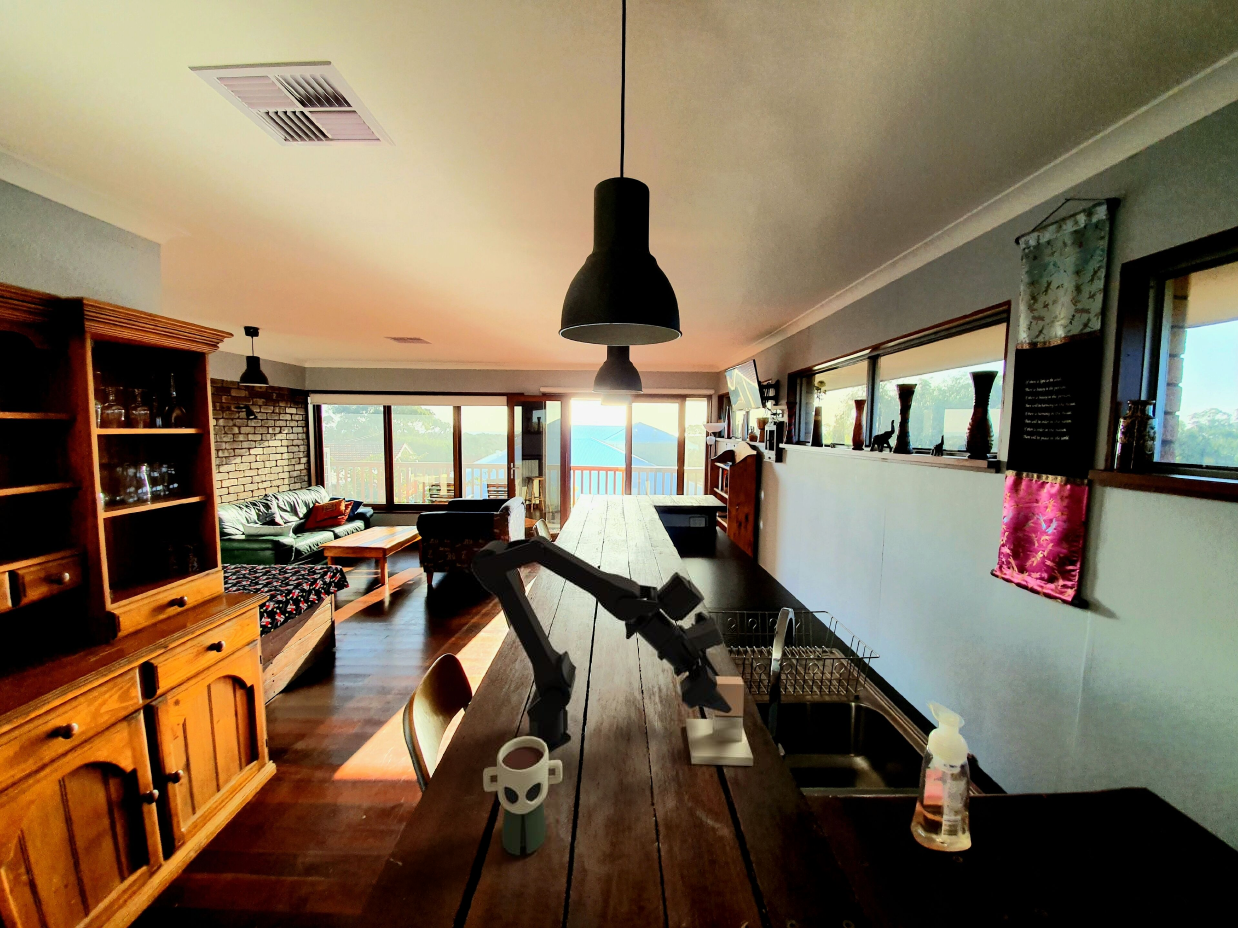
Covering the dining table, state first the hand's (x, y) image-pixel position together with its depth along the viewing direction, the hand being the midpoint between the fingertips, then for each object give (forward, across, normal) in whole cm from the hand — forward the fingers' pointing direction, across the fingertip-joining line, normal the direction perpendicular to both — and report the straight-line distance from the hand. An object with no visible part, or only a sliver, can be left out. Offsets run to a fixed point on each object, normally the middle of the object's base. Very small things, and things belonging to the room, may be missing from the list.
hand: (724, 695), depth 83 cm
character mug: (-16, -20, +29) cm, 39 cm away
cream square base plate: (+6, 0, +8) cm, 10 cm away
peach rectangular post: (+3, 0, +2) cm, 3 cm away
